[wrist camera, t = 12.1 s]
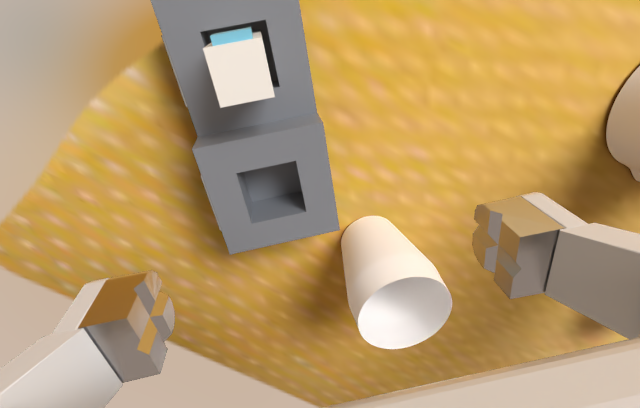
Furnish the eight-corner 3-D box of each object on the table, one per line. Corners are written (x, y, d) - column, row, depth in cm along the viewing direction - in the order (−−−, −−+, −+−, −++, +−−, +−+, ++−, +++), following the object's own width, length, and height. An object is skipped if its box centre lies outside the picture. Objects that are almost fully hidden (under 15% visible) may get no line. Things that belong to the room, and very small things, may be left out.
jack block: (289, -24, 28) (298, -34, 22) (326, 195, 38) (339, 230, 32) (160, -1, 27) (132, -5, 21) (232, 215, 37) (227, 255, 31)
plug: (258, 22, 28) (259, 26, 20) (270, 74, 30) (274, 97, 22) (215, 30, 28) (199, 38, 20) (229, 82, 30) (220, 107, 22)
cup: (419, 225, 42) (474, 295, 31) (375, 279, 45) (411, 360, 34) (360, 192, 38) (398, 260, 28) (315, 253, 41) (335, 334, 31)
